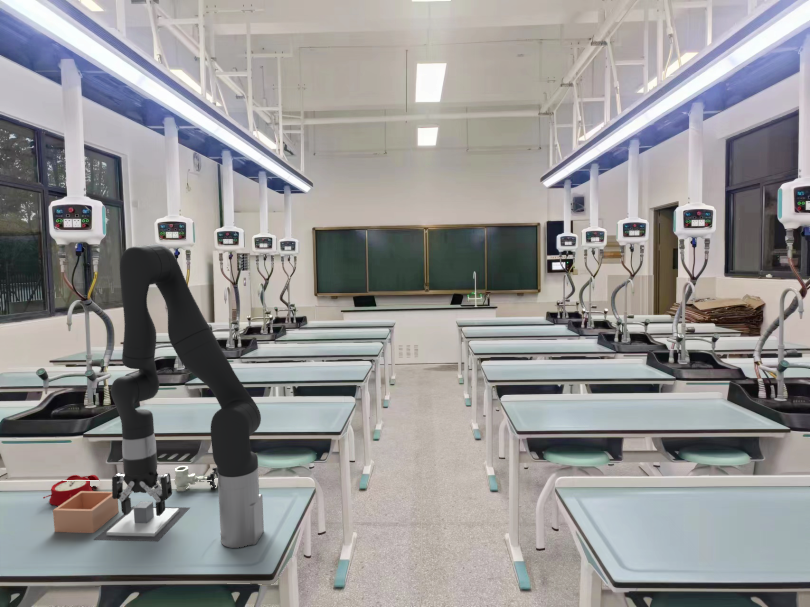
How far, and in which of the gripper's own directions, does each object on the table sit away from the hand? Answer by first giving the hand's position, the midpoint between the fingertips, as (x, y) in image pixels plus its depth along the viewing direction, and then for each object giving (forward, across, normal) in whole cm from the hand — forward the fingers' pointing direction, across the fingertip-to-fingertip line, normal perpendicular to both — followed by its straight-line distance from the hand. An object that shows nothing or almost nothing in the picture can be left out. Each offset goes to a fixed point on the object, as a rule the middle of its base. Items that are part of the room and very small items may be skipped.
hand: (143, 514), depth 130 cm
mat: (+3, 0, 0) cm, 3 cm away
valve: (+3, -4, -19) cm, 20 cm away
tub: (+3, +15, 0) cm, 15 cm away
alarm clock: (+3, +29, -15) cm, 33 cm away
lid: (+2, 0, 0) cm, 2 cm away
